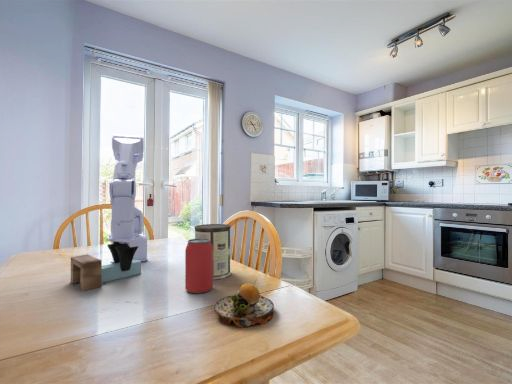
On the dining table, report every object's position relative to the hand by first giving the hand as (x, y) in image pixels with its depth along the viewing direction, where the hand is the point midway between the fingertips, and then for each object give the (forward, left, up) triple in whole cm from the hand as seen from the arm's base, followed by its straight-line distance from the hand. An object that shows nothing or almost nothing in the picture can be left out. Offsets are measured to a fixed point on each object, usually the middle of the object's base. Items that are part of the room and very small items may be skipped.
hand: (122, 269), depth 75 cm
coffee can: (-18, +18, -2) cm, 25 cm away
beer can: (-8, +25, -2) cm, 26 cm away
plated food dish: (-6, +42, -2) cm, 42 cm away
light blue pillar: (+1, 0, -2) cm, 2 cm away
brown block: (+9, 0, -2) cm, 9 cm away
